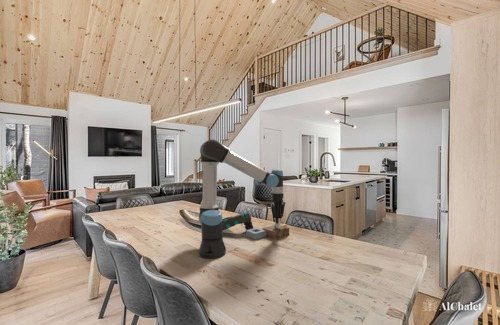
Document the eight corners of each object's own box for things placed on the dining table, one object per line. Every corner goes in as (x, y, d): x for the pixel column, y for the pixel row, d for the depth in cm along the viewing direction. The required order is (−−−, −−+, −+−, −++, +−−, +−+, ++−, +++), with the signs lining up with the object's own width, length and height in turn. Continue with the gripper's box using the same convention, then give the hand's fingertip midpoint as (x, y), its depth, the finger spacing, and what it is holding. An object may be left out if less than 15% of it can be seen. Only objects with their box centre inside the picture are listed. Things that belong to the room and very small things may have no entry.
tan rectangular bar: (280, 229, 162) (279, 226, 162) (277, 229, 164) (277, 225, 164) (287, 227, 167) (287, 224, 167) (285, 227, 168) (285, 223, 168)
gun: (254, 231, 173) (248, 211, 173) (216, 243, 174) (209, 224, 174) (255, 228, 179) (248, 209, 179) (217, 240, 181) (211, 221, 181)
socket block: (274, 239, 159) (274, 231, 159) (262, 235, 168) (262, 227, 168) (289, 235, 168) (289, 227, 168) (276, 231, 177) (276, 224, 177)
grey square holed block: (255, 239, 159) (255, 233, 159) (245, 236, 167) (245, 230, 167) (266, 236, 165) (266, 230, 165) (257, 233, 173) (256, 227, 173)
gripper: (274, 194, 155) (275, 231, 156) (288, 192, 163) (289, 227, 164) (266, 193, 161) (267, 228, 161) (280, 191, 169) (281, 224, 169)
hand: (278, 227), depth 163 cm, fingers closed
